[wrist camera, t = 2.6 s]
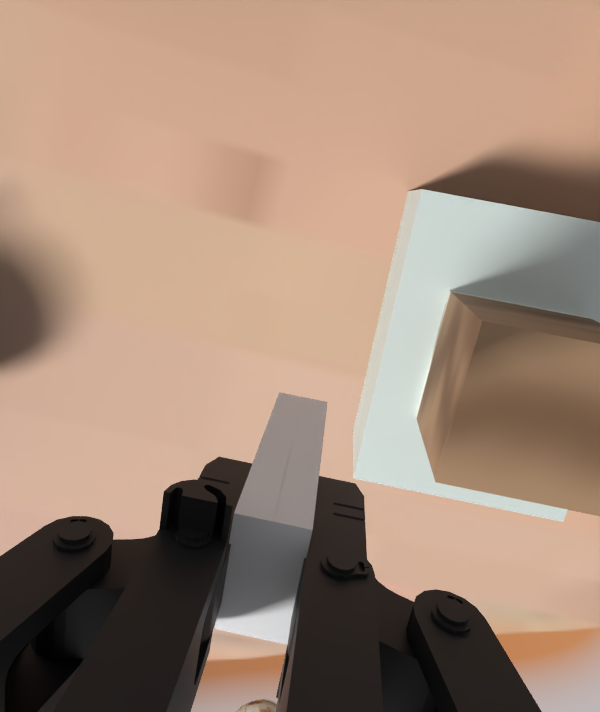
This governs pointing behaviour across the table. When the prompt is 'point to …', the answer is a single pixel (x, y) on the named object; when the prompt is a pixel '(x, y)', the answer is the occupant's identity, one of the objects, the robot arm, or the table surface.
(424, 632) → the robot arm
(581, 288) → the steps
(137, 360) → the table surface
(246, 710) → the trinket box
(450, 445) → the cube
